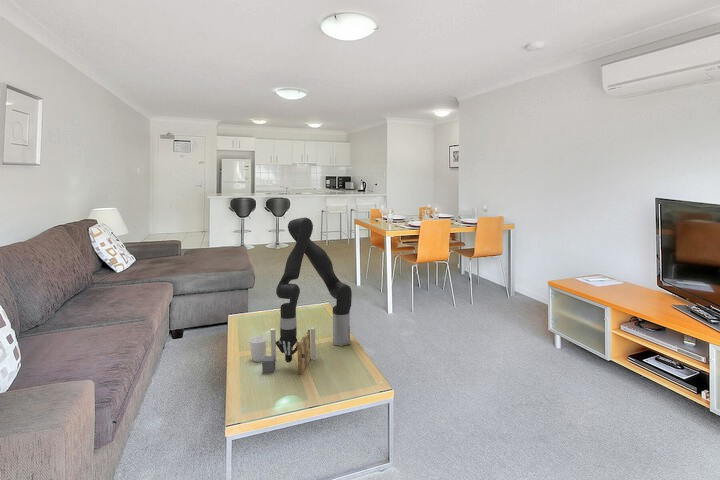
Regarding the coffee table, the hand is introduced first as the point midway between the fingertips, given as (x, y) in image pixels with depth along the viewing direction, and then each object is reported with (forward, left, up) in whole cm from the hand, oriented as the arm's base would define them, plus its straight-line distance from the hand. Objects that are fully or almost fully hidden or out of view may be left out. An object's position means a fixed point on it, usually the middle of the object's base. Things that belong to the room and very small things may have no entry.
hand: (288, 361), depth 172 cm
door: (-8, -1, -3) cm, 9 cm away
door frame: (-1, -8, -3) cm, 9 cm away
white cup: (+16, -11, -3) cm, 19 cm away
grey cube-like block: (+9, +2, -3) cm, 10 cm away
